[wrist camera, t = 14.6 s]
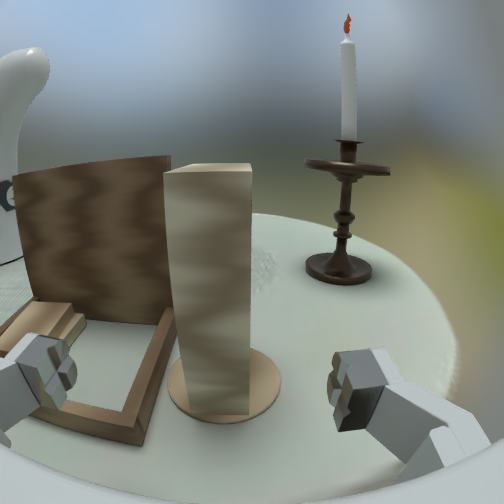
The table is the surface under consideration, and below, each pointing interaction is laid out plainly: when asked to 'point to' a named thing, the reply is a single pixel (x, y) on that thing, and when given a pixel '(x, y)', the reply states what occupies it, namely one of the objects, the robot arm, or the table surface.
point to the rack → (102, 269)
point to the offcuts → (43, 324)
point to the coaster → (260, 395)
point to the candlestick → (344, 182)
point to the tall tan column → (211, 281)
